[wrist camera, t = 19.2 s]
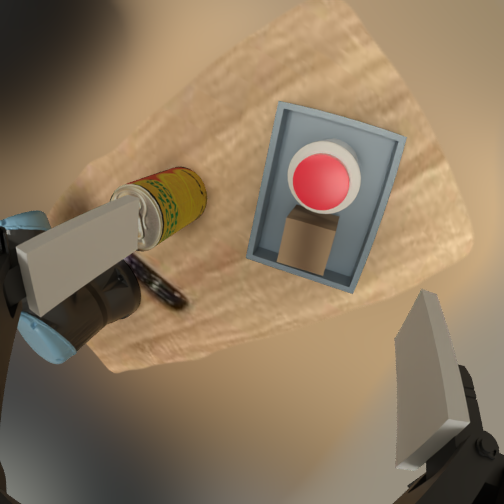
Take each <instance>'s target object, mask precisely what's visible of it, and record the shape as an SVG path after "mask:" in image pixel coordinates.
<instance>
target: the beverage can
mask: <svg viewBox="0 0 504 504" xmlns="http://www.w3.org/2000/svg"><path fill="white" fill-rule="evenodd" d="M126 195H130V196H133V197H137V198H139V217H138V249H137V250H136V251H147V250H150V249H152V248H153V247H155V246H156V245H158V244H159V243H161V242H162V241H164V240H165V239H167V238H168V237H170V236H171V235H173V234H174V233H176V232H177V231H179V230H180V229H182V228H183V227H185V226H186V225H188V224H190V223H191V222H193V221H194V220H196V219H197V218H199V217H200V216H201V214H202V213H203V212H204V209H205V207H206V203H207V192H206V189H205V186H204V183H203V182H202V180H201V178H200V177H199V176H198V175H197V174H196V173H195V172H193V171H192V170H190V169H188V168H184V167H175V168H172V169H169V170H165V171H162V172H159V173H156V174H153V175H150V176H147V177H144V178H141V179H139V180H136V181H133V182H130V183H127V184H125V185H122V186H120V187H119V188H117V189H116V190H115V191H114V193H113V195H112V197H111V199H110V202H111V201H114V200H116V199H118V198H121V197H123V196H126Z"/></svg>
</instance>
